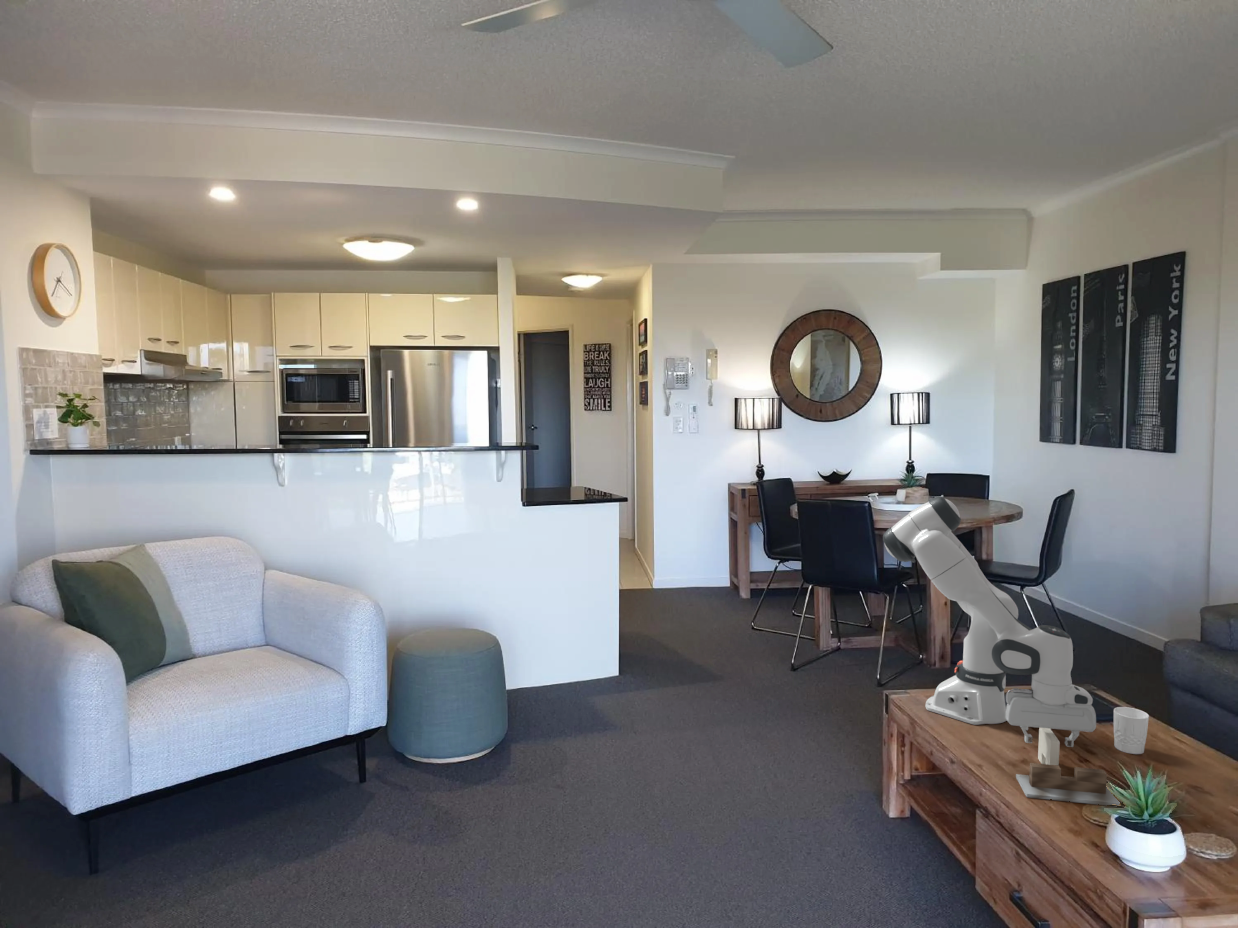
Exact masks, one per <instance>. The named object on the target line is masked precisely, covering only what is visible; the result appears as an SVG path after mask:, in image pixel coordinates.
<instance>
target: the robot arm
mask: <svg viewBox="0 0 1238 928" xmlns="http://www.w3.org/2000/svg"><path fill="white" fill-rule="evenodd" d="M961 522H962V518H961V515H960V511H959V509H958V507H957V505H955V504H954V503H953V501H951V500H949V499H948V498H945V497H944V496H940V495H939V496H935V497H933V498H930V499H928V501H927V502H925V503H923V504H921V505H919V506H917V507H916V508H914V509H912V510H911V511H910V512H908V514H906V515H905V516H904V517H902V518H901V519H900V520H899V521H897V522H896V523H895V524H894V525H893V526H892V527H891V526H890V527H889V528H887V530H886V531H884V533H883V535H882V541H883V543H884V547H885V550H886V551H887V553H888V554H889V555H890V556H891V557H893V558H894V559H896V560H897V561H899V562H903V563H907V562H911V563H916V560H917V561H918V563H919V565H920V566H921V568H922V570H923V571H924V573H925V574H926V575H927V577H928V578H929V580H930V582H931V583H932V584H933V585H934V586H935V588H936V589H937V590H938V591H939V592H940V593H941V595H942V594H943V596H944V597H946V599H948V600H950V601H954V602H956V603H957V605H959V607H960V608H961V609H962V610H963V611H964V612H965V613H966V614H967V615H969V616H970V619H971V622H970V627H969V630H968V633H967V635H966V636H965V637H964V638H963V653H962V660H959V661H958V662H957V664H956V665H955V668H954V674H955V675H953V676H951V677H949V678H947V679H945V680H944V681H942V682H940V683H939V684H938V685H937V687H936V688H935V691H934V693H933V694H934V695H931V696H930V697H928V699H927V700H926V701H925V709H926V710H927V711H929V712H933V713H936V714H939V715H941V716H945V717H948V718H950V719H951V718H952V719H955V720H957V721H960V722H964V723H966V724H971V725H975V726H977V725H985V724H989V725H995V724H1001V723H1004V722H1006V721H1007V723H1009V725H1011V726H1017V727H1020V729H1021V730H1022V732H1023V734H1024V735H1023V736H1024V742H1025V743H1027V744H1033V740H1034V738H1033V736H1032V733H1028V732H1027V731H1028V730H1029V728H1050V729H1051V730H1052V729H1053V730H1064V731H1070V732H1071V733H1070V735H1069V736H1068V737H1066V736H1065V737H1064V745H1065V746H1066V747H1068V748H1070V747H1071V748H1074V743H1075V742H1074V741H1076V740H1077V739H1078V737H1079V736H1080V732H1087V733H1093V732H1094V731H1095V729H1096V728H1097V714H1096V710H1095V708H1094V706H1093V705H1092V704H1093V701H1094V699H1093V697H1092V696H1091V694H1090V693H1089V692H1088V691H1087V690H1086V689H1084V688H1083V687H1080V686H1078V685H1075V684H1073V682H1072V677H1071V676H1072V675H1071V671H1072V669H1073V664H1074V651H1073V650H1074V646H1073V641H1072V638H1071V636H1070V634H1068V633H1067V631H1064V630H1063V629H1061V628H1059V627H1056V626H1053V625H1045V624H1042V625H1038V626H1037V627H1035V628H1033V629H1032V627H1030V626H1028V625H1026V624H1025V623H1023V622H1022V621H1020V620H1019V619H1018V618H1019V609H1018V606H1017V604H1016V602H1015V601H1014V600H1013V598H1012V597H1011V596H1010V595H1009V594H1008V593H1006V592H1005V591H1003V590H1001V589H999V588H998V587H996V586H995V585H994V584H992V583H991V582H990V581H989V580H988V579H987V578H986V575H984V573H983V571H982V570H981V569H980V566H979V563H978V562H977V560H976V559H975V558H974V556H972V554H971V553H970V552H969V550H967V548H966V547H965V546H964V544H963V543H962V542H961V541H960V540H959V539H958V537H957V536H956V535H955V534H954V533H953V532H955V531H956V530H957V529H958V528H959V526H960V525H961ZM915 558H916V560H915ZM1006 674H1008V675H1022V676H1023V675H1025V676H1027V675H1030V676H1031V686H1030V687H1031V689H1030V688H1017V687H1015V688H1014V687H1013V688H1012V689H1009V690H1008V691H1007V692H1006V694H1005V689H1006V684H1007V683H1006V682H1007V680H1006V678H1007V676H1006Z"/></svg>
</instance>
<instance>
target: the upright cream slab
mask: <svg viewBox="0 0 1238 928" xmlns="http://www.w3.org/2000/svg"><path fill="white" fill-rule="evenodd" d="M1038 728H1039V727H1038ZM1060 742H1061V741H1060V740H1059V739H1058V737H1057V736H1056V734H1055V733H1054V732H1053V730H1052V729H1050V728H1039V729H1038V744H1037V745H1038V748H1037V751H1038V752H1037V759H1038V760H1039V762H1040V764H1048V765H1059V763H1060V746H1061V745H1060V744H1061V743H1060ZM1059 766H1060V765H1059Z"/></svg>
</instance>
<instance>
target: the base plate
mask: <svg viewBox="0 0 1238 928" xmlns="http://www.w3.org/2000/svg"><path fill="white" fill-rule="evenodd" d="M1073 775H1074V776H1068V775H1062V768H1061V767H1060V765H1048V764H1041V763H1036V762H1030V763H1029V774H1018V773H1016V774H1015V778H1016V781H1017V782H1018V784H1019V785H1020V788H1021V790H1022V791H1023V794H1024V795H1025V797H1026V798H1030V799H1031V798H1032V799H1040V800H1041V799H1042V800H1050V799H1052V801H1061V802H1069V801H1070V803H1080V804H1089V805H1090V804H1091V805H1098V804H1099V806H1100V805H1101V806H1107V805H1112V804H1116V805H1119V804H1120V802H1121V801H1120V800H1119V801H1120V802H1119V801H1118V800H1117V799H1116V798H1115V797H1114V796H1113V794H1111V792H1110V791H1109V790H1108V789H1107V787H1106V784H1107V777H1108V773H1107V772H1106V771H1105V770H1104V769H1099V768H1090V767H1089V768H1088V767H1079V766H1074V774H1073Z"/></svg>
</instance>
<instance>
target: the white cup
mask: <svg viewBox="0 0 1238 928" xmlns="http://www.w3.org/2000/svg"><path fill="white" fill-rule="evenodd" d="M1149 718H1150V715H1149V714H1148V713H1147V712H1145V711H1143V710H1141V709H1138V708H1133V707H1128V706H1127V707H1126V706H1117V707H1114V708H1113V736H1114V738H1113V739H1114V740H1113V741H1114V742H1113V744H1114V745H1113V746H1114V748H1115V749H1116V750H1118V751H1119V752H1122V753H1127V754H1133V755H1142V754H1144V753H1145V746H1146V742H1147V736H1148V727H1149V726H1148V725H1149Z"/></svg>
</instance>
